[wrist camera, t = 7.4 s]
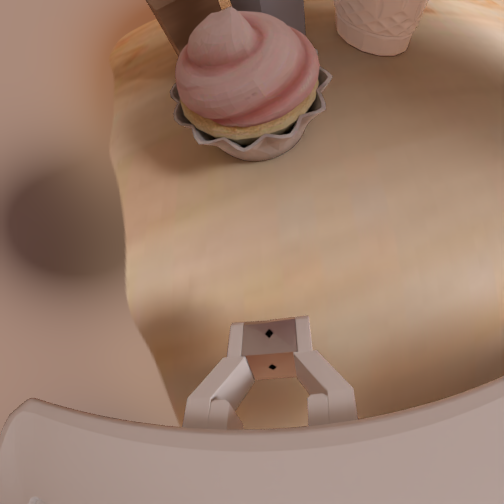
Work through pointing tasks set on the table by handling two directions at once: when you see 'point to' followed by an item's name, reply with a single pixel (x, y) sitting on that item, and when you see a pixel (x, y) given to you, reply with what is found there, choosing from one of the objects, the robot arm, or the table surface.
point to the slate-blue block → (276, 10)
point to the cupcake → (248, 84)
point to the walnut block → (181, 18)
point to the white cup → (378, 24)
